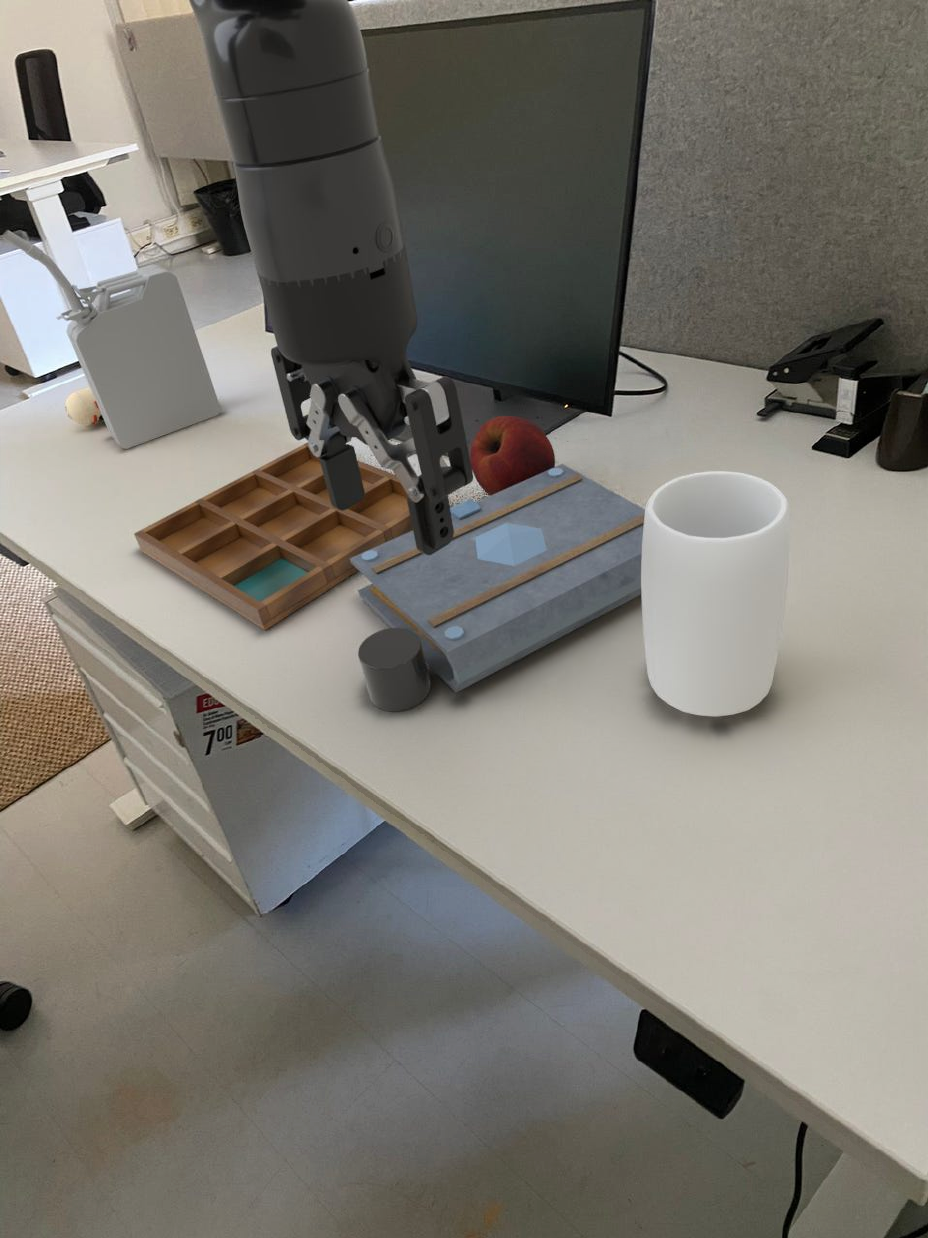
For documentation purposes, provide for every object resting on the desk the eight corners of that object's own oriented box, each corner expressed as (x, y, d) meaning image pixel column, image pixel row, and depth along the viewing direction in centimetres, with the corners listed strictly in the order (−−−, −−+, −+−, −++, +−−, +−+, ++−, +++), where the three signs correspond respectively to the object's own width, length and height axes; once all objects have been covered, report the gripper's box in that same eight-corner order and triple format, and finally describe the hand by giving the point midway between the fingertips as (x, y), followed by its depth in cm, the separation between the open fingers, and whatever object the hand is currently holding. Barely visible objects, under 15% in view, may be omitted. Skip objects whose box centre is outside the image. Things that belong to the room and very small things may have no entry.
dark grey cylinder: (396, 721, 60) (385, 677, 57) (357, 694, 62) (345, 651, 60) (443, 686, 62) (434, 642, 59) (403, 661, 65) (393, 619, 62)
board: (265, 630, 70) (257, 610, 69) (141, 552, 83) (133, 533, 82) (448, 512, 81) (444, 493, 79) (313, 459, 93) (308, 441, 92)
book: (463, 704, 60) (452, 648, 57) (358, 597, 72) (344, 547, 69) (692, 580, 67) (693, 526, 64) (562, 502, 79) (558, 453, 76)
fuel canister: (101, 459, 101) (1, 233, 86) (90, 446, 105) (-7, 227, 90) (223, 414, 107) (149, 194, 92) (209, 402, 110) (136, 189, 95)
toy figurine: (155, 407, 117) (70, 438, 111) (139, 375, 116) (52, 404, 110) (174, 393, 111) (84, 425, 105) (157, 358, 110) (65, 389, 103)
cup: (804, 702, 56) (830, 512, 47) (693, 753, 54) (698, 564, 45) (722, 632, 62) (731, 453, 53) (619, 674, 60) (612, 496, 51)
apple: (461, 496, 83) (448, 418, 78) (529, 468, 85) (521, 390, 80) (502, 527, 77) (491, 446, 72) (574, 496, 80) (568, 415, 75)
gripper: (195, 255, 46) (277, 516, 56) (354, 292, 37) (419, 596, 47) (310, 216, 50) (368, 468, 60) (481, 241, 41) (516, 534, 50)
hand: (390, 524), depth 53 cm, fingers open, 8 cm apart
